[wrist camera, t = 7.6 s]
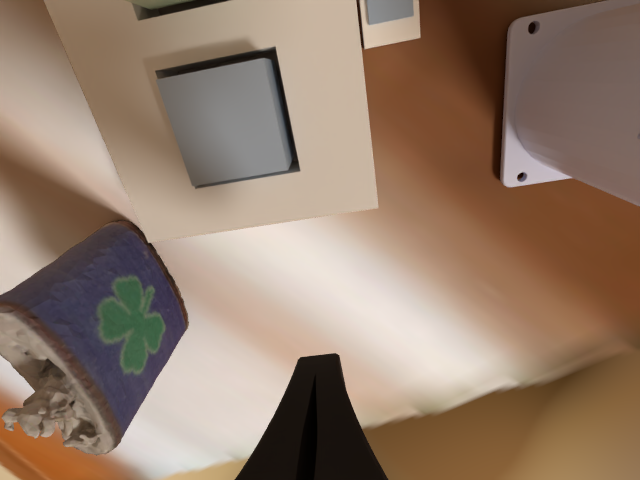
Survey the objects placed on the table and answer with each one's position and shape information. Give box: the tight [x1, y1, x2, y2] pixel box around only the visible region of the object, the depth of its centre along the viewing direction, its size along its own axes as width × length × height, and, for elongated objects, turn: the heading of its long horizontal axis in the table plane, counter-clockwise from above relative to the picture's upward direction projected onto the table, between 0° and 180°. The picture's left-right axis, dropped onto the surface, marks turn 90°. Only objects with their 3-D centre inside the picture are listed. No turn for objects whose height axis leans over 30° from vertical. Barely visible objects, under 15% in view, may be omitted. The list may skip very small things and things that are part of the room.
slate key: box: [156, 58, 294, 186], centre depth 16 cm, size 4×4×3 cm
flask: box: [0, 220, 189, 455], centre depth 18 cm, size 9×3×11 cm, turn 14°
